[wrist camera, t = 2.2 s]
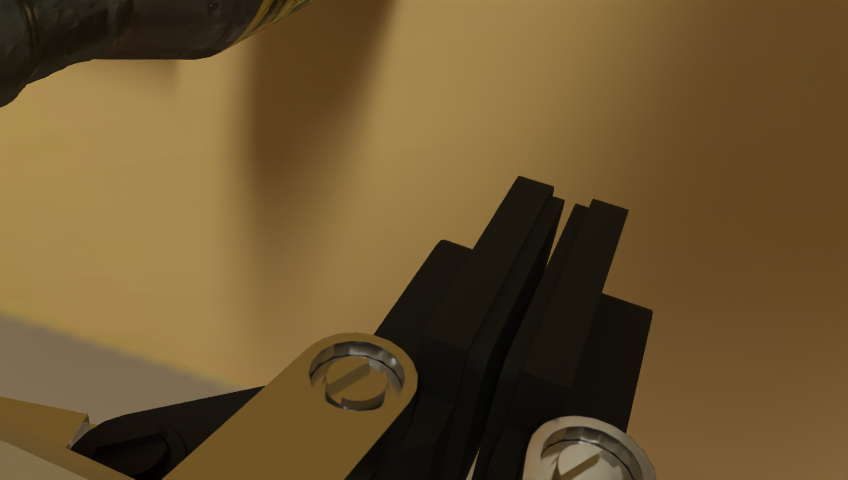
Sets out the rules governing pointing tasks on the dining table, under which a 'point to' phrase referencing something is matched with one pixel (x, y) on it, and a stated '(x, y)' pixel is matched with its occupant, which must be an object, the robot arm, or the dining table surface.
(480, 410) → the robot arm
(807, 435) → the dining table surface
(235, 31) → the sauce bottle
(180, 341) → the dining table surface
